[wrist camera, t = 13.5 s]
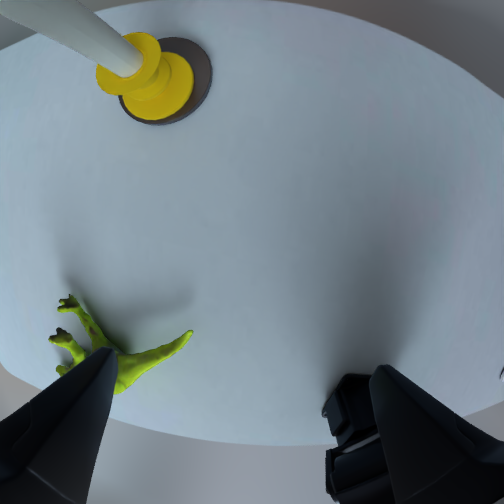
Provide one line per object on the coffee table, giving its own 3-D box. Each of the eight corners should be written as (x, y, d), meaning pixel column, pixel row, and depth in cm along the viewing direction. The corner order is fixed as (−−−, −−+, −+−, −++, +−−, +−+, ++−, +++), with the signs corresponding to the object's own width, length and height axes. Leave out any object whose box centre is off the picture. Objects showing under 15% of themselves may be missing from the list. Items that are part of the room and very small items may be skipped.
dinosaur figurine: (114, 230, 19) (70, 256, 14) (203, 321, 22) (189, 371, 16) (35, 342, 24) (8, 371, 18) (96, 399, 26) (77, 434, 20)
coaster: (223, 45, 15) (222, 41, 15) (198, 132, 17) (195, 130, 17) (137, 40, 15) (133, 36, 14) (112, 121, 17) (107, 119, 16)
